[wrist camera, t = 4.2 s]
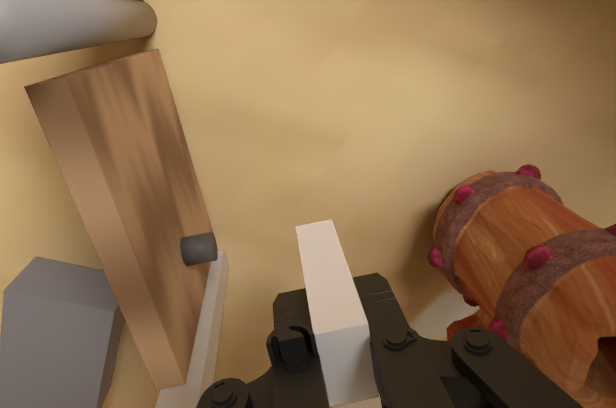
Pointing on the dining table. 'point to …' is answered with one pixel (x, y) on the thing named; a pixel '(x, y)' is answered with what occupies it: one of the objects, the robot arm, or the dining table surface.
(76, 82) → the door
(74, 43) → the doorframe
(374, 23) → the dining table surface
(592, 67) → the dining table surface
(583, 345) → the mug
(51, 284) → the block
